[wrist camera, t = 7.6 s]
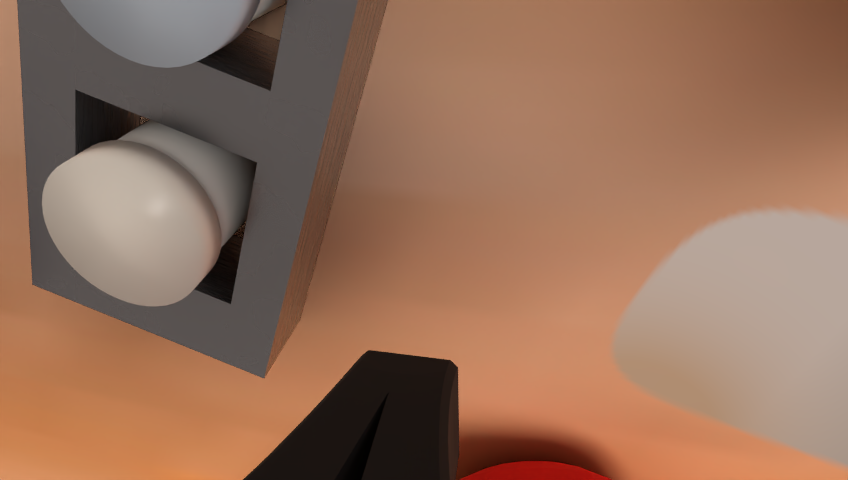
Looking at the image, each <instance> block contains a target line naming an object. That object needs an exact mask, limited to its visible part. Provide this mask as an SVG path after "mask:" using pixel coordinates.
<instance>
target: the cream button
mask: <svg viewBox="0 0 848 480" xmlns="http://www.w3.org/2000/svg"><path fill="white" fill-rule="evenodd" d="M256 167H257V162H255V161H252V160H250V159H247V158H245V157H242V156H240V155H237V154H235V153H232V152H230V151H227V150H225V149H222V148H220V147H217V146H215V145H212V144H210V143H207V142H205V141H202V140H200V139H197V138H195V137H192V136H190V135H187V134H185V133H182V132H180V131H177V130H175V129H172V128H170V127H167V126H165V125H162V124H160V123H157V122H155V121H152V120H150V119H149V120H148V121H146V122H145V123H143V124H141V125H140V126H138V127H137V128H135V129H133V130H132V131H130V132H129V133H127V134H126V135H124V136H122V137H121V138H119V139H118V140H110V141H104V142H100V143H97V144H95V145H92V146H90V147H89V148H87V149H85V150H84V151H82V152H80V153H79V154H77V155H76V156H74V157H72V158H71V159H69V160H67V161H66V162H64V163H62V164H61V165H59V166H58V167H57V168H56V169H55V170H54V171H53V172H52V173H51V174H50V176H49V177H48V179H47V181H46V183H45V186H44V189H43V194H42V209H43V216H44V220H45V224H46V226H47V229H48V232H49V234H50V236H51V238H52V240H53V242H54V244H55V245H56V247H57V248H58V250H59V252H60V253H61V254H62V256H63V257H64V258H65V259H66V261H67V262H68V263H69V264H70V265H71V266H72V267H73V268H74V269H75V270H76V271H77V272H78V273H79V274H80V275H81V276H82V277H83V278H85V279H86V280H87V281H88V282H90V283H91V284H92V285H94V286H95V287H97V288H98V289H100V290H102V291H103V292H105V293H107V294H109V295H111V296H113V297H115V298H117V299H120V300H123V301H125V302H128V303H132V304H136V305H142V306H166V305H169V304H173V303H176V302H178V301H180V300H182V299H183V298H185V297H186V296H188V295H189V294H190V293H191V292H192V291H193V290H194V288H195V287H196V286H197V285H198V284H199V283H200V282H201V281H202V279H203V278H204V277H205V276H206V275H207V274H208V273H209V272H210V271H211V269H212V268H213V267H214V265H215V264H216V262H217V259H218V257H219V254H220V250H221V247H222V246H223V245H224V244H225V243H226V242H227V241H228V240H229V239H230V238H231V236H232V235H233V234H234V233H235V232H236V231H237V230H238V229H239V228H240V227H241V226H242V224H243V223H244V222H245V221H246V220H247V215H248V210H249V205H250V199H251V194H252V188H253V183H254V178H255V172H256Z"/></svg>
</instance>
